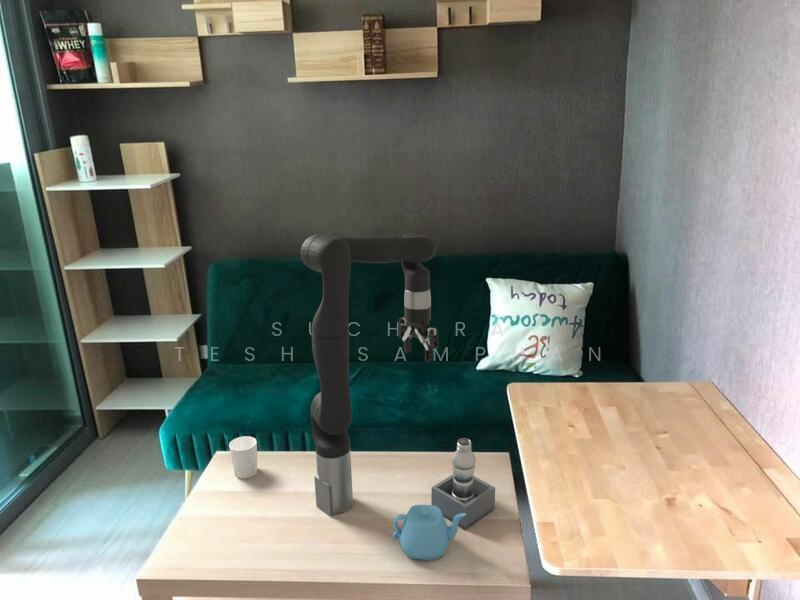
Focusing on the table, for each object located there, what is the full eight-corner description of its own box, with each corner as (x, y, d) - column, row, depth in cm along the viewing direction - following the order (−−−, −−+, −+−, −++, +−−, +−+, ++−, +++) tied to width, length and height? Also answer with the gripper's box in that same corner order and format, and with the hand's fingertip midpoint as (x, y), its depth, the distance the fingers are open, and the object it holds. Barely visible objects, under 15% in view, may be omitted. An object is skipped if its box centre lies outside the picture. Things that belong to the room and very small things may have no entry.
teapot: (466, 528, 147) (389, 525, 149) (465, 566, 151) (390, 562, 152) (465, 495, 159) (394, 492, 161) (465, 531, 162) (395, 527, 164)
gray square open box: (465, 530, 163) (465, 507, 160) (431, 509, 171) (431, 487, 169) (494, 509, 170) (495, 487, 168) (461, 490, 179) (461, 469, 176)
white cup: (238, 464, 193) (235, 435, 190) (263, 465, 192) (260, 436, 189) (228, 479, 186) (224, 449, 183) (254, 481, 185) (250, 451, 182)
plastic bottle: (476, 501, 172) (479, 437, 166) (471, 516, 166) (473, 451, 160) (453, 496, 174) (455, 433, 168) (447, 511, 168) (448, 446, 162)
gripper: (390, 301, 181) (392, 353, 186) (426, 313, 171) (426, 367, 176) (409, 295, 186) (410, 346, 191) (445, 306, 176) (444, 359, 181)
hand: (418, 356), depth 184 cm, fingers open, 8 cm apart
